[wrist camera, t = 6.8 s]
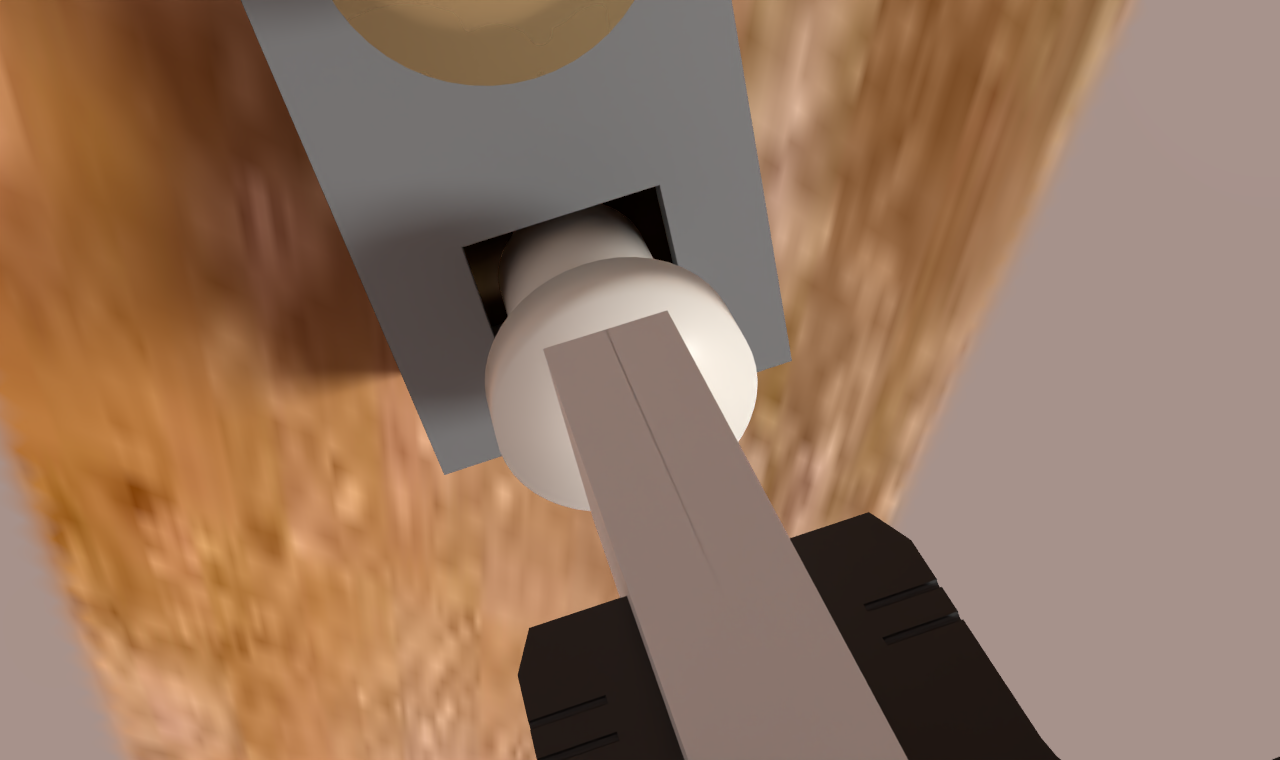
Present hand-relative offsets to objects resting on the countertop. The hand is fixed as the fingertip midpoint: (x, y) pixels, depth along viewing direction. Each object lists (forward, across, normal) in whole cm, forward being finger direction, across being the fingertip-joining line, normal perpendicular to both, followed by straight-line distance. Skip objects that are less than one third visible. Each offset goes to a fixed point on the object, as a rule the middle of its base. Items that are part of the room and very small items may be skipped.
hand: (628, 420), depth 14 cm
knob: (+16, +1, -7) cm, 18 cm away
